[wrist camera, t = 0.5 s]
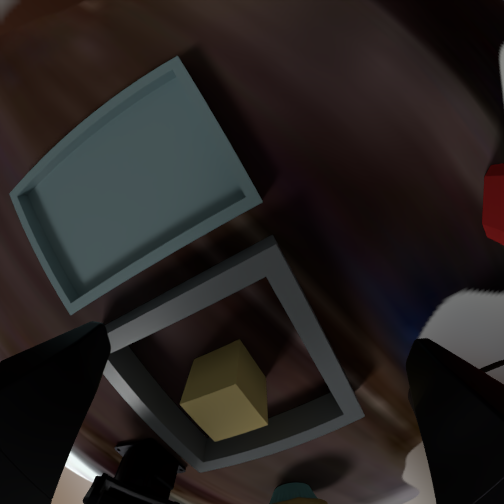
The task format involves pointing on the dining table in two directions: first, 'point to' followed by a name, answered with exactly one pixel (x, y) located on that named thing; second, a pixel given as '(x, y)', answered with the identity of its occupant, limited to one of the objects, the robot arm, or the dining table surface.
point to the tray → (131, 186)
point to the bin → (196, 298)
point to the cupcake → (295, 494)
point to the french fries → (494, 203)
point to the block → (226, 392)
